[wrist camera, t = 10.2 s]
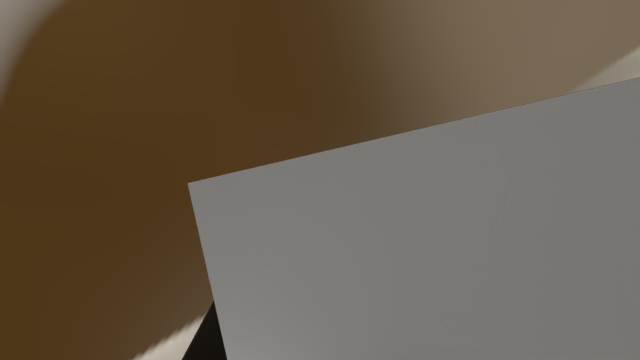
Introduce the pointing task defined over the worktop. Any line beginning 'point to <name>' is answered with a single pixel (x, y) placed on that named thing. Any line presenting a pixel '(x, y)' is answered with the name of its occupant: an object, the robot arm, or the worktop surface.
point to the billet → (439, 241)
